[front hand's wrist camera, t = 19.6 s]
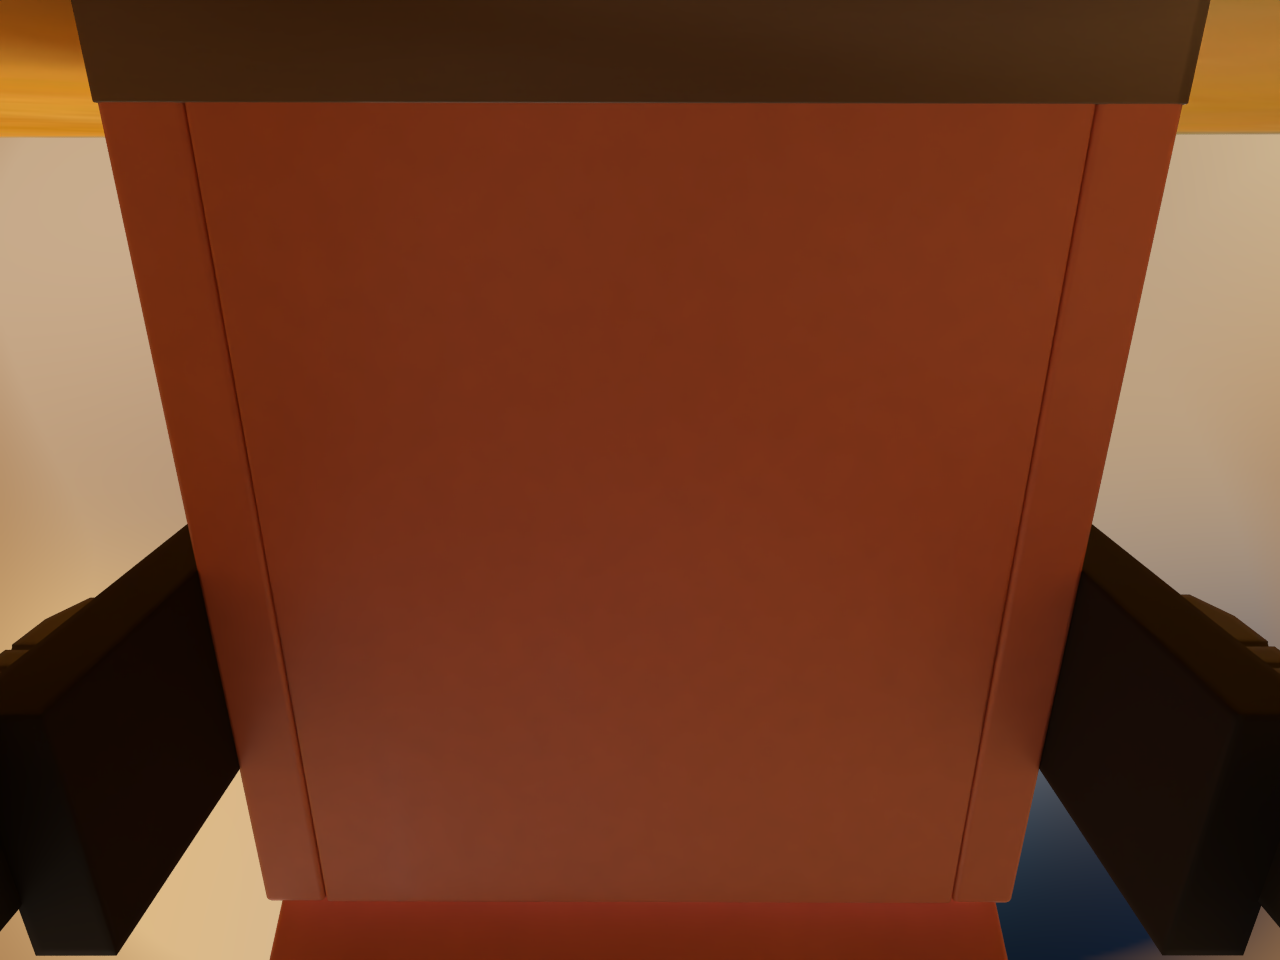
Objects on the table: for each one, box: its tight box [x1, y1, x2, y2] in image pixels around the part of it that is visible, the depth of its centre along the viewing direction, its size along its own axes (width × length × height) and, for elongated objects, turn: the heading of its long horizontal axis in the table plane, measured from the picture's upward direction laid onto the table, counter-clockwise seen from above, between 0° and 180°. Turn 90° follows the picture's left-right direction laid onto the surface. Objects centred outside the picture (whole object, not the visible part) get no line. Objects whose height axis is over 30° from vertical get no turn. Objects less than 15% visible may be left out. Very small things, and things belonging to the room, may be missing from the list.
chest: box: [71, 0, 1210, 903], centre depth 15 cm, size 14×10×10 cm
